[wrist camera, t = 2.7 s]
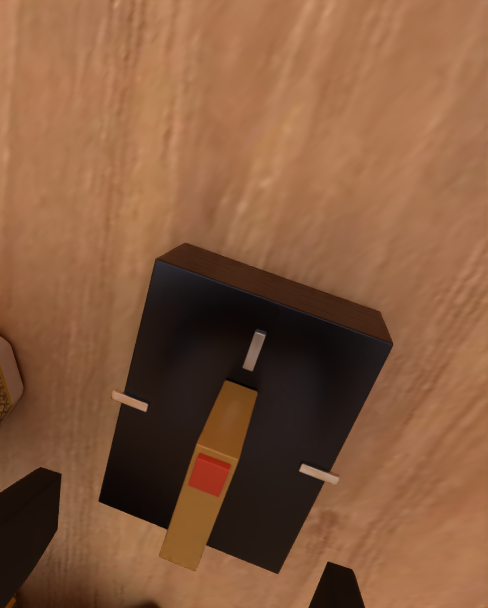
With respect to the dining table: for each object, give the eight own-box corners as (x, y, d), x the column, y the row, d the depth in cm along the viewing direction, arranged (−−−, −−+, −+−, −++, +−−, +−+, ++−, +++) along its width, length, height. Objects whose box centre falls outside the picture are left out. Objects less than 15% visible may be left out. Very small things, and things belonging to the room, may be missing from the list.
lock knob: (221, 486, 15) (192, 579, 12) (192, 475, 16) (155, 564, 12) (258, 391, 14) (237, 466, 10) (225, 379, 14) (193, 449, 10)
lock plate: (291, 518, 19) (286, 582, 16) (122, 451, 20) (87, 501, 17) (389, 315, 15) (406, 350, 12) (176, 239, 16) (143, 255, 13)
